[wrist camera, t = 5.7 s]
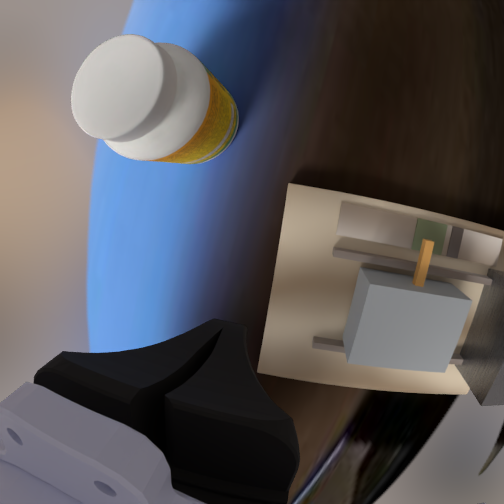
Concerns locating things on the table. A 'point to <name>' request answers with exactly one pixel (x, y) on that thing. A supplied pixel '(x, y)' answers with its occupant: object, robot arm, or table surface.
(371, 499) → the table surface
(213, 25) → the table surface
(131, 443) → the robot arm
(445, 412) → the table surface
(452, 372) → the gauge board
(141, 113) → the supplement bottle
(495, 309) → the grey slanted slab
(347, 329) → the block
